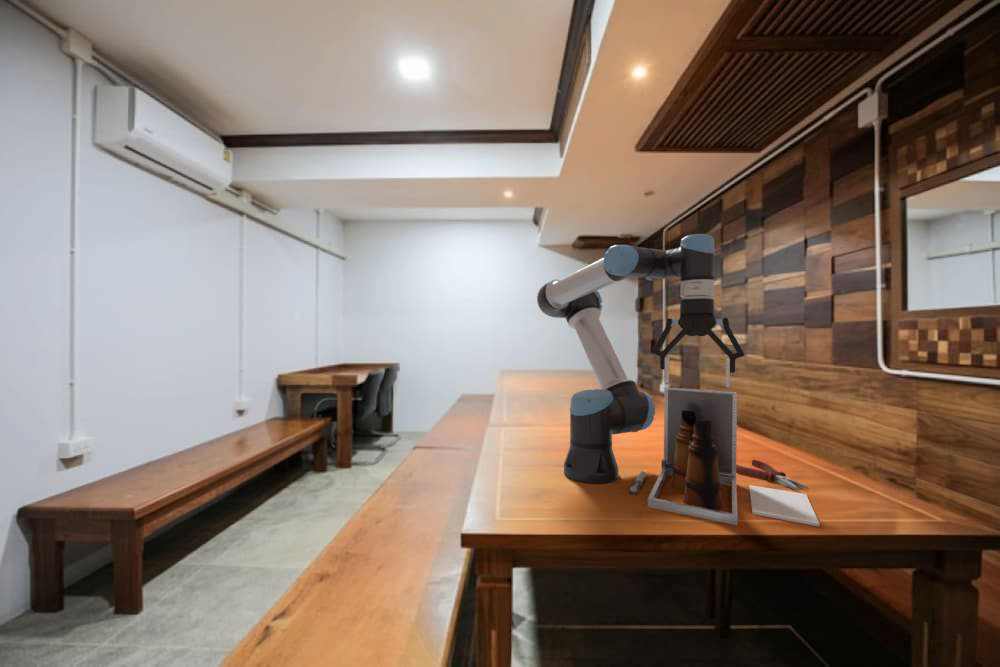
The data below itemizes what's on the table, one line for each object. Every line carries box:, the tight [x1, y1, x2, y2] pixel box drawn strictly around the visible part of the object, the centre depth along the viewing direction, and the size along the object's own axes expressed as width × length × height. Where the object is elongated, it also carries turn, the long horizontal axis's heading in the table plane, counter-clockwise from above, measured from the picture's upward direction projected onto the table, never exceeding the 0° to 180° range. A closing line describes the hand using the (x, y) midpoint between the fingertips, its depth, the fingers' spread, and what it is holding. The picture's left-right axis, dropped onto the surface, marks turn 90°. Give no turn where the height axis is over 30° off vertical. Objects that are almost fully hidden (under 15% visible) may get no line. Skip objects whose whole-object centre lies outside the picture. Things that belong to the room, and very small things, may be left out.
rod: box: [628, 471, 647, 496], centre depth 109 cm, size 2×14×2 cm, turn 151°
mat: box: [748, 484, 821, 527], centre depth 97 cm, size 12×18×1 cm, turn 151°
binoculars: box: [670, 410, 723, 511], centre depth 102 cm, size 18×8×20 cm, turn 174°
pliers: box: [736, 459, 809, 491], centre depth 115 cm, size 12×20×3 cm, turn 14°
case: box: [647, 387, 738, 526], centre depth 103 cm, size 18×27×24 cm
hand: (696, 384), depth 102 cm, fingers open, 13 cm apart
